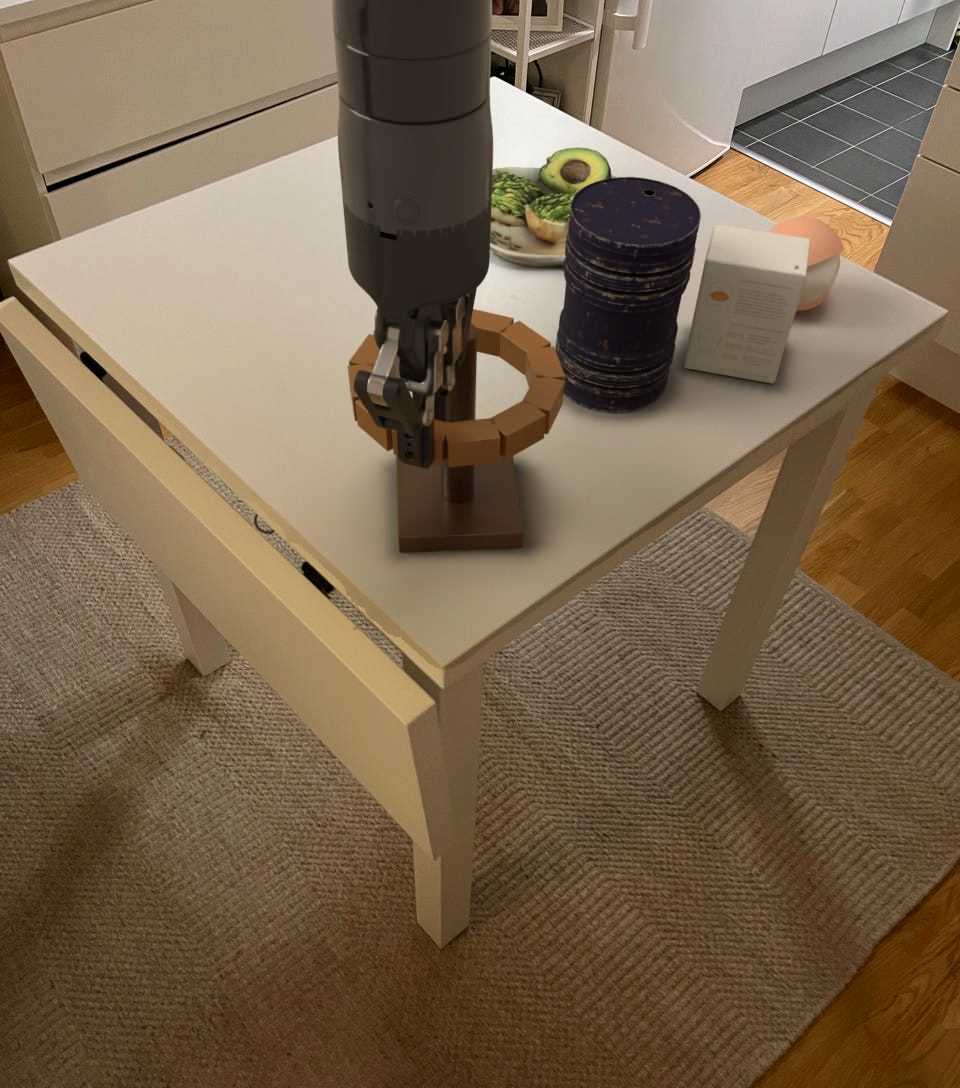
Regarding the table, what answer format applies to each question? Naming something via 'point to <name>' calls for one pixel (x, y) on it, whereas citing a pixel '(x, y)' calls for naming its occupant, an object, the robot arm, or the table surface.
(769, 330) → the small box
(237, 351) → the table surface
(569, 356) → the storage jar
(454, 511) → the peg
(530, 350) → the ring
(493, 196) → the avocado toast plate
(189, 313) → the table surface
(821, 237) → the toy ball
